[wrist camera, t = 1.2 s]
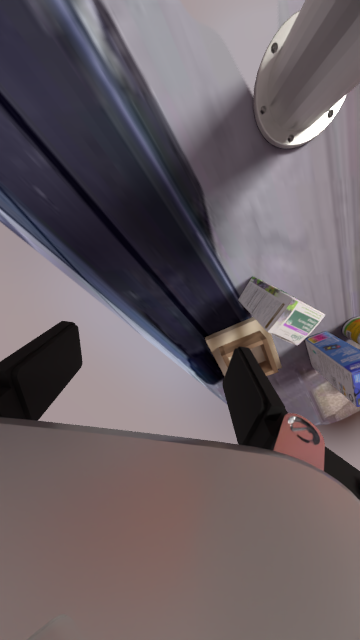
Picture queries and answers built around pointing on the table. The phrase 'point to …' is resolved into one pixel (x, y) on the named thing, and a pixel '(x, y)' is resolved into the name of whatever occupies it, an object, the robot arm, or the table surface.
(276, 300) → the syrup box
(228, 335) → the desk stand
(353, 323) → the supplement bottle
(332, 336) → the ink cartridge box
